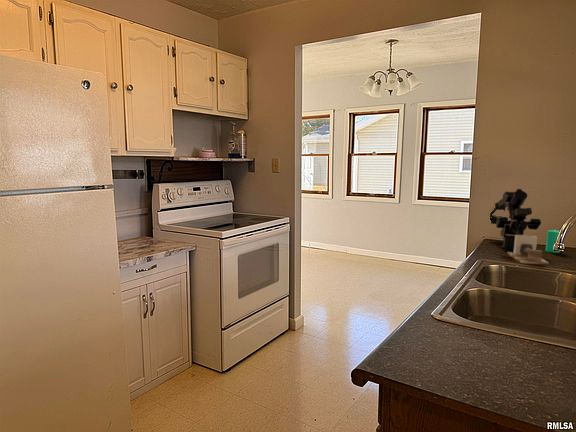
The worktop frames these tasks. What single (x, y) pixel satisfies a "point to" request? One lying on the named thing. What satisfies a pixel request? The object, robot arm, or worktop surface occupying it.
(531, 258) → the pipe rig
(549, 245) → the candle
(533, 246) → the sleeve
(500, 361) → the worktop surface
